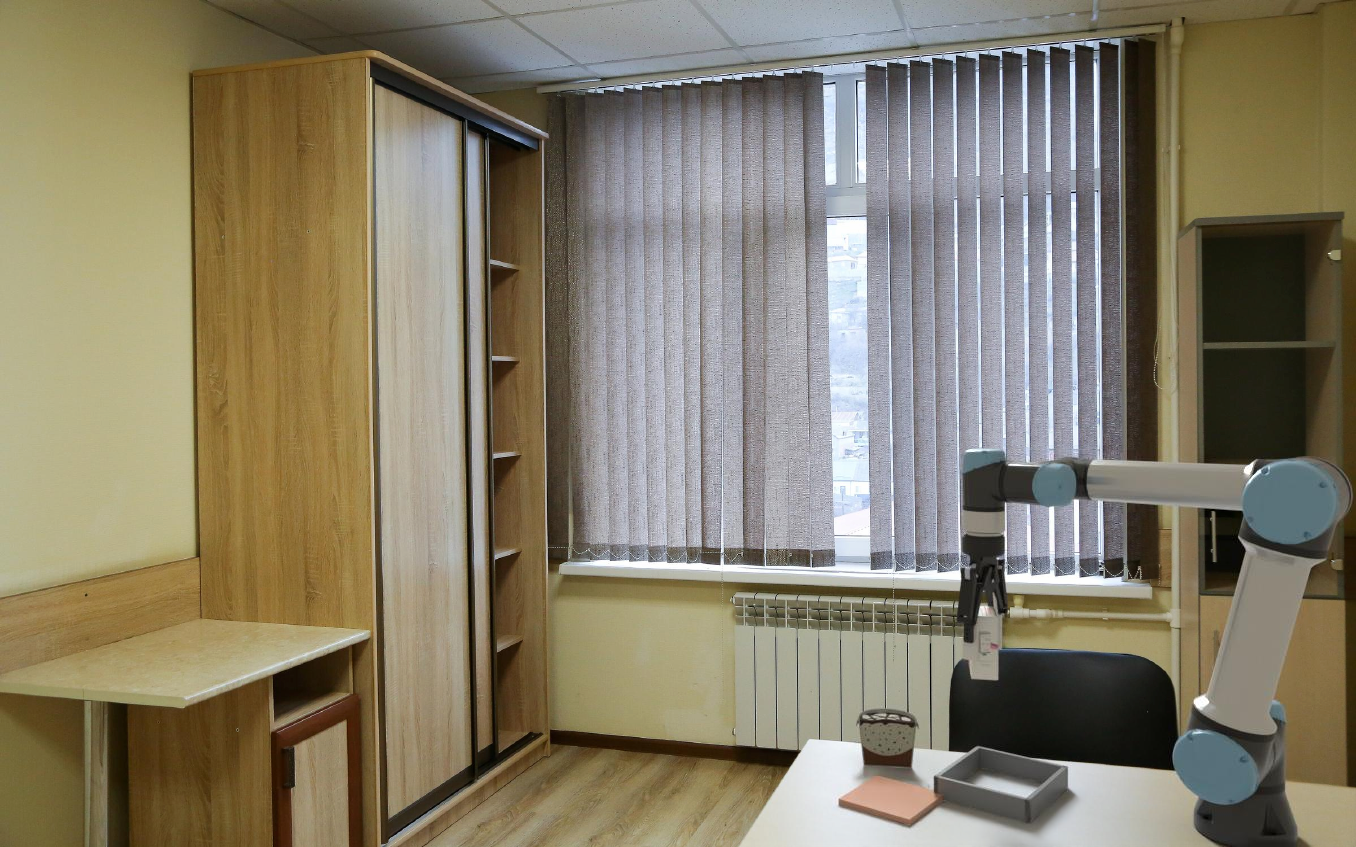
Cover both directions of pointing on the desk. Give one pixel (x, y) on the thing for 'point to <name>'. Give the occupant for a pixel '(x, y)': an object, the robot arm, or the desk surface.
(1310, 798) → the desk surface
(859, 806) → the terracotta tile
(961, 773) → the parts bin
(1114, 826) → the desk surface
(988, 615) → the ink cartridge box
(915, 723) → the food container
